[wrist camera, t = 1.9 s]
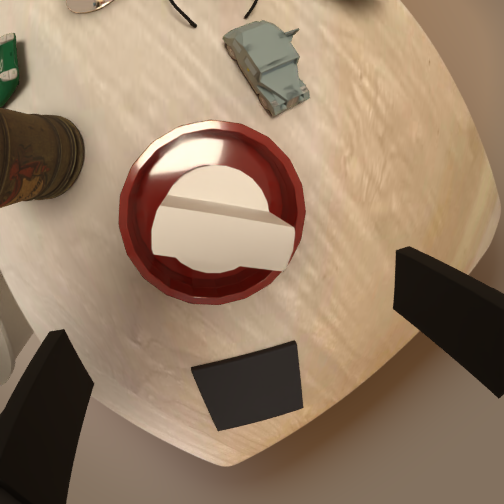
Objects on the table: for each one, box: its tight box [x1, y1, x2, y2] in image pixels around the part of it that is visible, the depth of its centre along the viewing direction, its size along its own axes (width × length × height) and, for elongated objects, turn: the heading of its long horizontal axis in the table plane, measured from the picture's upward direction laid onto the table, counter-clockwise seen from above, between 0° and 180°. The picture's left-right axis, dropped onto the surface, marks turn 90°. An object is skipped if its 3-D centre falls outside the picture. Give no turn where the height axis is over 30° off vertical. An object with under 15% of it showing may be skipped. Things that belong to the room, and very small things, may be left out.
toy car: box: [223, 20, 310, 116], centre depth 24 cm, size 6×10×5 cm, turn 31°
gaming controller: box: [0, 33, 19, 108], centre depth 17 cm, size 9×4×6 cm
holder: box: [191, 341, 303, 431], centre depth 38 cm, size 14×14×1 cm
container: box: [0, 108, 83, 208], centre depth 15 cm, size 9×9×18 cm
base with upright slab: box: [152, 165, 295, 273], centre depth 23 cm, size 9×9×12 cm
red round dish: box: [119, 120, 306, 305], centre depth 27 cm, size 17×17×5 cm
